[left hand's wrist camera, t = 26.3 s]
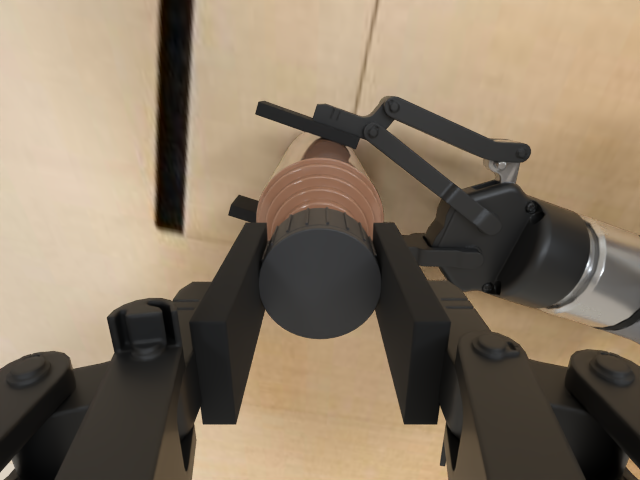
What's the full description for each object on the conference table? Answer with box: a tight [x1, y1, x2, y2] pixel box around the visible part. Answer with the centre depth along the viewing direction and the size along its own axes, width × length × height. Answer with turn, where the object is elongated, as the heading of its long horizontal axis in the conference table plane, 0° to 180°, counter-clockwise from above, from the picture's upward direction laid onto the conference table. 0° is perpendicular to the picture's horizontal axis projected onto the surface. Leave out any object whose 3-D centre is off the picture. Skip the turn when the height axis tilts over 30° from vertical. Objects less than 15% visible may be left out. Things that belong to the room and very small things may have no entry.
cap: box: [259, 207, 382, 339], centre depth 13 cm, size 4×4×2 cm
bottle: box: [256, 132, 384, 241], centre depth 23 cm, size 6×6×21 cm
